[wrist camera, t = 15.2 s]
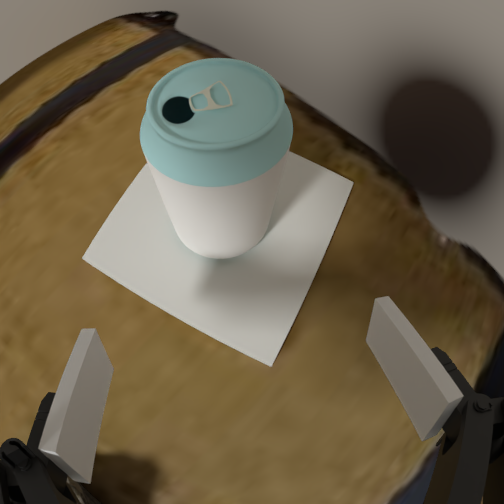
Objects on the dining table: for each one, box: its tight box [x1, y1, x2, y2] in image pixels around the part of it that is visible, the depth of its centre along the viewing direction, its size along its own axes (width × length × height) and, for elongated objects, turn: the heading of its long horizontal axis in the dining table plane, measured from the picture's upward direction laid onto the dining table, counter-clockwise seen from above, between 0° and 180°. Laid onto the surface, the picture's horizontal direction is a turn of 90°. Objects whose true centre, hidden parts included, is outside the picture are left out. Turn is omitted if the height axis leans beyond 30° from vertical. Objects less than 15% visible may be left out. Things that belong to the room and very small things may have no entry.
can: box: [140, 58, 293, 259], centre depth 17 cm, size 7×7×12 cm
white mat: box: [82, 151, 354, 367], centre depth 23 cm, size 16×16×1 cm
